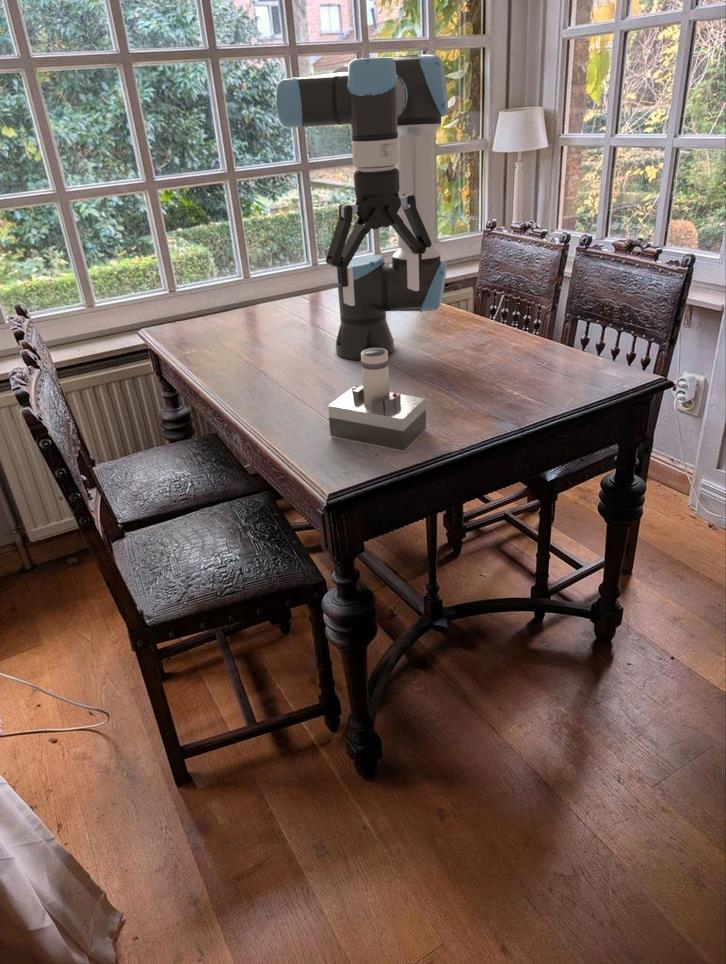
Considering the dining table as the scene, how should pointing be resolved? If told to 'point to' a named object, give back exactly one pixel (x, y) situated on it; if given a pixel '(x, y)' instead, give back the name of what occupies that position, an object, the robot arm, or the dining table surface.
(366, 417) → the two-tone block with arcs
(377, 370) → the lens
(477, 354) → the dining table surface
